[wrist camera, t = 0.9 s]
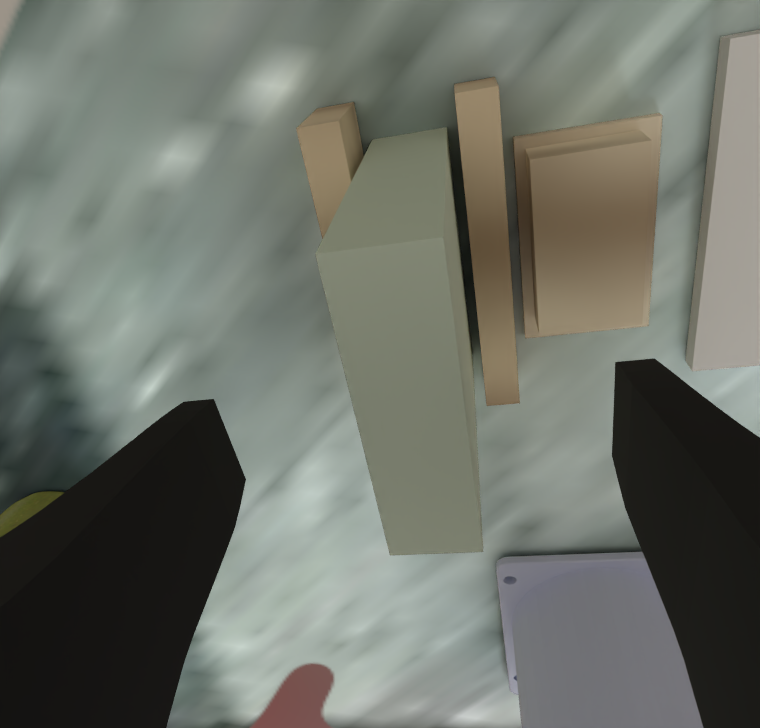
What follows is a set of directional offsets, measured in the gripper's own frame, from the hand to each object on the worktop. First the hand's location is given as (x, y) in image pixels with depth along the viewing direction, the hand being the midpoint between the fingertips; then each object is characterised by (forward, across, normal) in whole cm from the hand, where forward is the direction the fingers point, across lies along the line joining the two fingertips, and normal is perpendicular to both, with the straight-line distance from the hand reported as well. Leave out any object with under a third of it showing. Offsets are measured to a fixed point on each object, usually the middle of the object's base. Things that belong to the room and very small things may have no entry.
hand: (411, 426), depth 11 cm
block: (+8, 0, 0) cm, 8 cm away
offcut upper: (+8, -4, 0) cm, 9 cm away
